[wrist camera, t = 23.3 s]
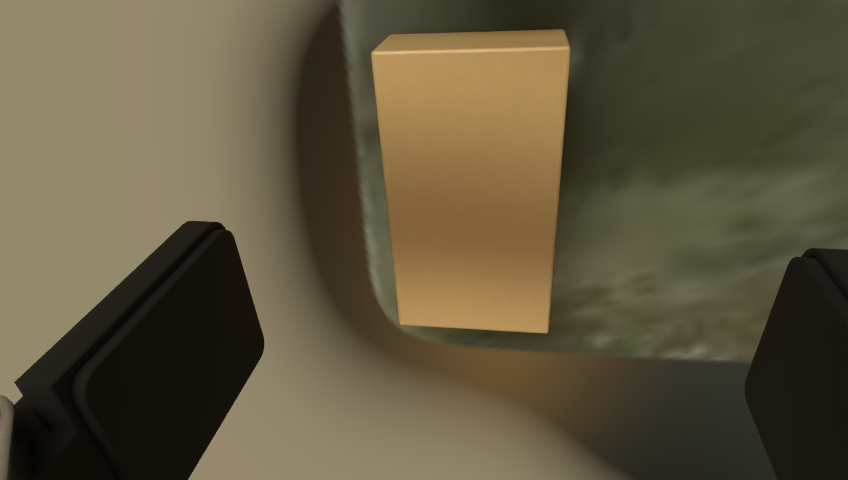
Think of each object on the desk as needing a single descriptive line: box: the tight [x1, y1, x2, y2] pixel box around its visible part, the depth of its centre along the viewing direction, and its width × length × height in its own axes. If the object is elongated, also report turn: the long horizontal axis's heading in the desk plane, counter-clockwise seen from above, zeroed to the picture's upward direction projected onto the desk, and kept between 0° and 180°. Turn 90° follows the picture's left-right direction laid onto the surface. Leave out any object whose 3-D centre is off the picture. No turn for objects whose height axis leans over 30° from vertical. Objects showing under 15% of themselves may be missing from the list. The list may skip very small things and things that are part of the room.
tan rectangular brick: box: [371, 29, 571, 333], centre depth 15 cm, size 8×4×3 cm, turn 4°
